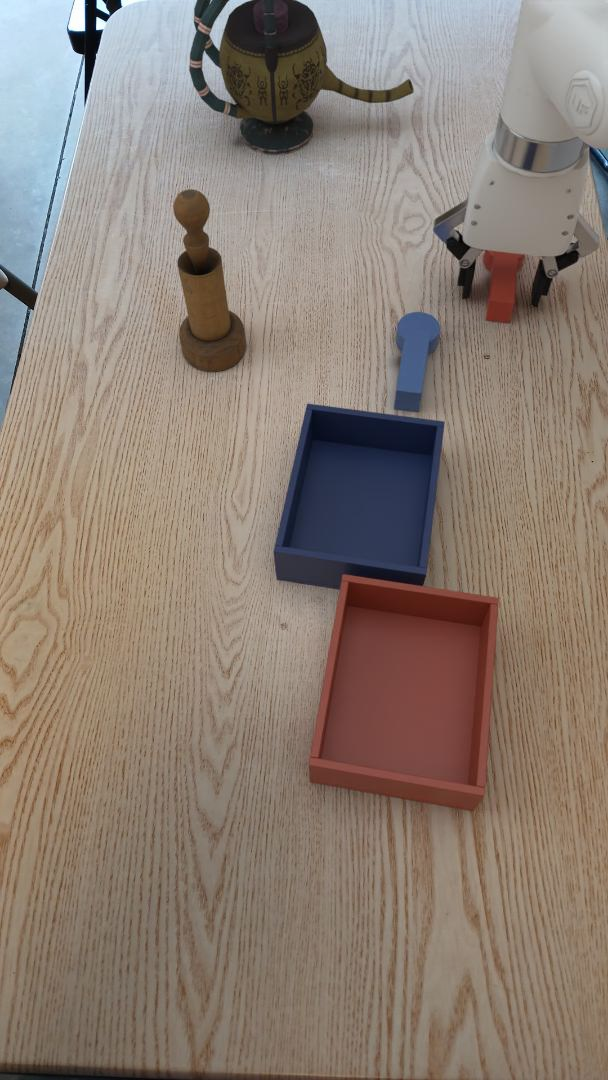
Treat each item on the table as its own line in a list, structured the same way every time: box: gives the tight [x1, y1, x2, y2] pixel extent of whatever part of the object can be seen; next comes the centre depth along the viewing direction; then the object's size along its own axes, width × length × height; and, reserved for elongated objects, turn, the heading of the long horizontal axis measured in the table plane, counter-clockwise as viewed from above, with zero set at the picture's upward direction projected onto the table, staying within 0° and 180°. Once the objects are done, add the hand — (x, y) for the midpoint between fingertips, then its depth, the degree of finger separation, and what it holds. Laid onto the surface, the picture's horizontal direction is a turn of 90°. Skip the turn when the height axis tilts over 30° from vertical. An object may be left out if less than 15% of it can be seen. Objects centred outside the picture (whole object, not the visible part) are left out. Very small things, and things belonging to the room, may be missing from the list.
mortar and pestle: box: [172, 188, 247, 373], centre depth 76 cm, size 7×6×18 cm
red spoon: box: [482, 250, 526, 324], centre depth 86 cm, size 11×4×3 cm, turn 170°
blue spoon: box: [393, 311, 441, 413], centre depth 81 cm, size 11×4×3 cm, turn 170°
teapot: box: [188, 0, 415, 156], centre depth 90 cm, size 12×25×23 cm, turn 91°
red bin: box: [308, 574, 500, 812], centre depth 63 cm, size 15×12×5 cm
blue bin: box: [273, 403, 446, 590], centre depth 71 cm, size 15×12×5 cm
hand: (500, 292), depth 86 cm, fingers open, 6 cm apart
